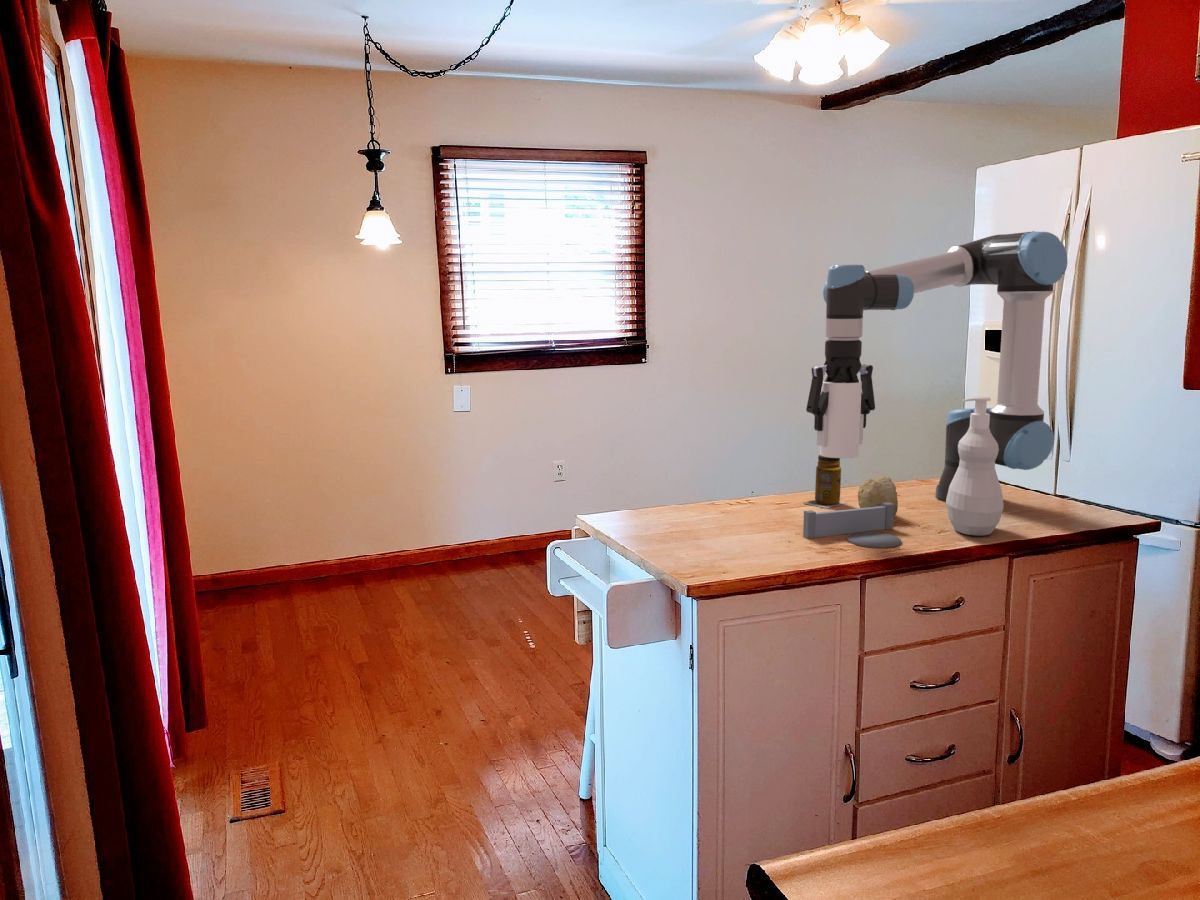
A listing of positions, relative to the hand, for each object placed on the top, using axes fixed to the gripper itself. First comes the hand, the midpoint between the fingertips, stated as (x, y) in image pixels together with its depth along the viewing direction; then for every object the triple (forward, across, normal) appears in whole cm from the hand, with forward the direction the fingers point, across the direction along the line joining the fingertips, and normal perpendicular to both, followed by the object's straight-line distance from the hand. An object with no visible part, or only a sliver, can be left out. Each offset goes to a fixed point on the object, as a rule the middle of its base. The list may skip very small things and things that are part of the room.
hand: (839, 444), depth 193 cm
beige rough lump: (+19, -16, -8) cm, 27 cm away
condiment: (+19, -12, -23) cm, 33 cm away
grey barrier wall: (+19, -2, +2) cm, 19 cm away
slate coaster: (+19, -3, +10) cm, 22 cm away
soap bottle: (+19, -28, +10) cm, 35 cm away
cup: (+2, 0, 0) cm, 2 cm away
